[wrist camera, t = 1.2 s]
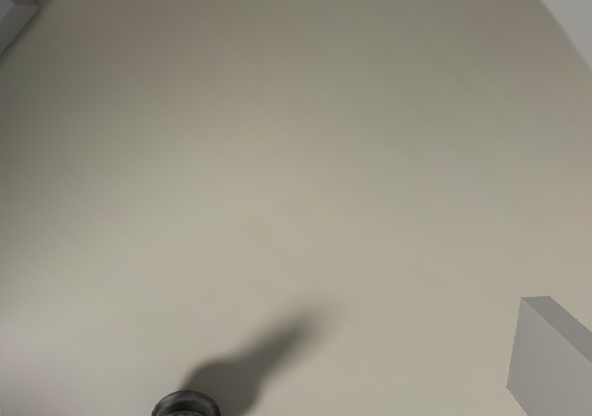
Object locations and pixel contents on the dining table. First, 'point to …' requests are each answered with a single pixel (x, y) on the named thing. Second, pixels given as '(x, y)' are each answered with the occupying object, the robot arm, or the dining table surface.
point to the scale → (14, 19)
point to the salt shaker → (186, 405)
